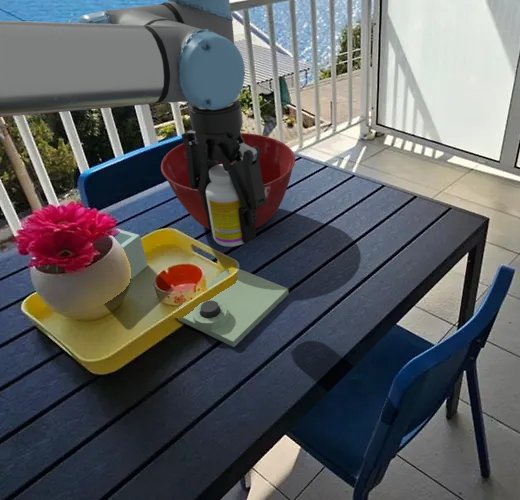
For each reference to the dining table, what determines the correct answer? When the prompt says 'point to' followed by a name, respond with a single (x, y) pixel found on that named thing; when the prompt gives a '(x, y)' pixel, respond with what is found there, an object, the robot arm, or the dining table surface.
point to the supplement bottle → (223, 208)
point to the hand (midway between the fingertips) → (232, 232)
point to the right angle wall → (133, 251)
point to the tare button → (209, 309)
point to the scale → (237, 307)
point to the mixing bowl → (271, 163)
